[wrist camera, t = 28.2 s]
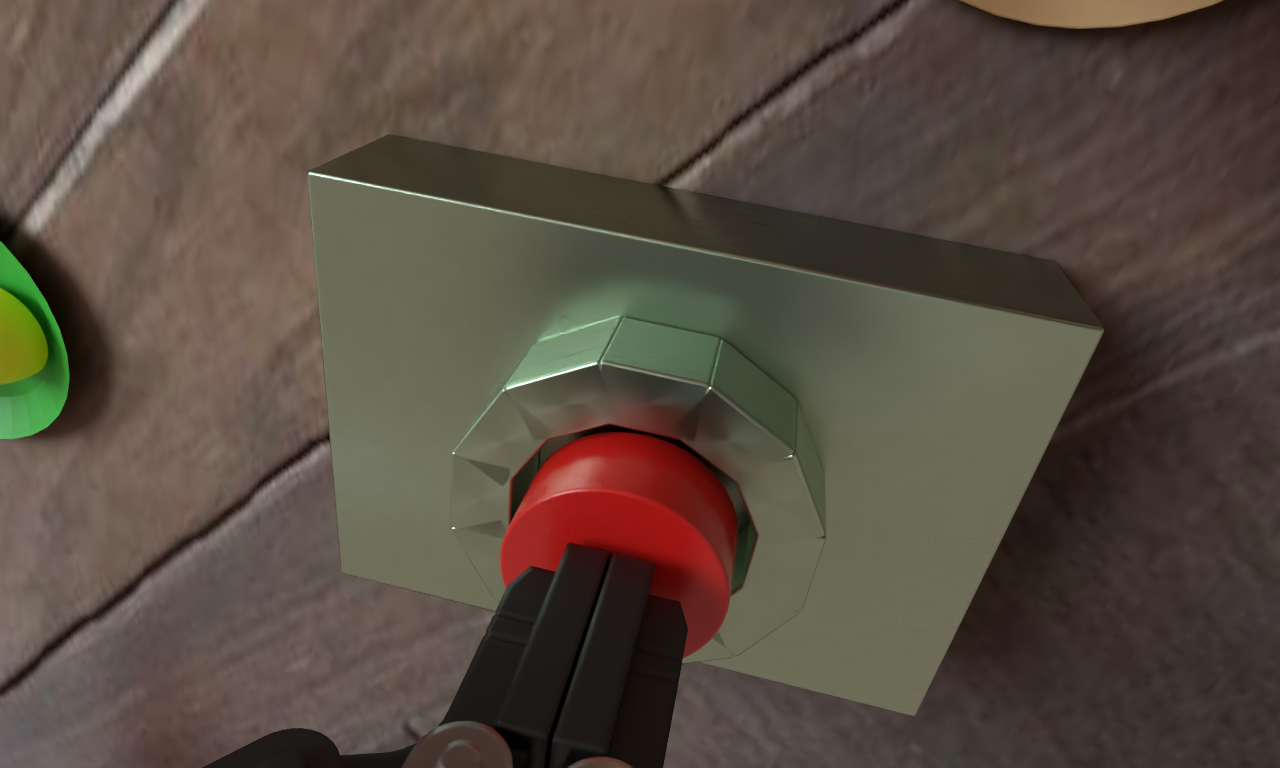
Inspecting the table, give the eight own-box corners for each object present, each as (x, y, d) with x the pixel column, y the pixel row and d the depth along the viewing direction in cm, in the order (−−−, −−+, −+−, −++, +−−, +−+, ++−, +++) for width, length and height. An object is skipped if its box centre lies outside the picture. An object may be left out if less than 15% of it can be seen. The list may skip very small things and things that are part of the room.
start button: (759, 458, 14) (751, 522, 12) (716, 619, 16) (706, 691, 14) (537, 408, 14) (503, 465, 12) (524, 572, 16) (494, 637, 14)
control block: (1055, 260, 15) (1147, 382, 11) (902, 615, 21) (924, 791, 16) (387, 132, 17) (242, 198, 13) (399, 494, 22) (298, 628, 18)
